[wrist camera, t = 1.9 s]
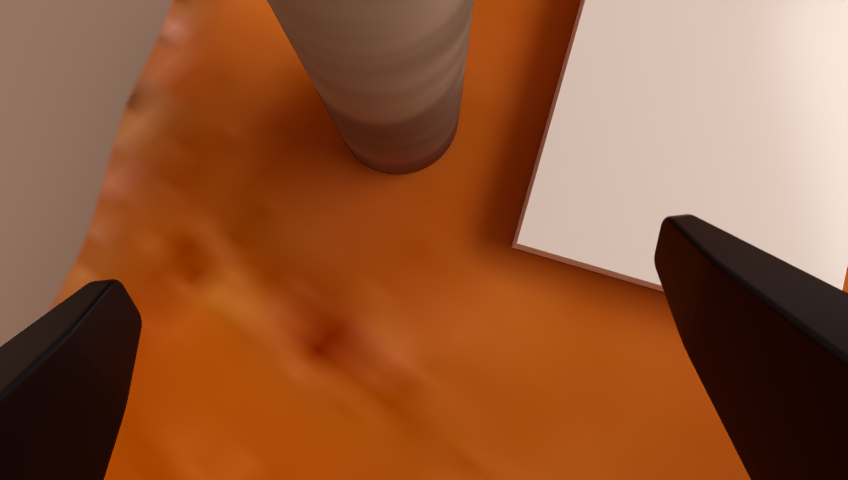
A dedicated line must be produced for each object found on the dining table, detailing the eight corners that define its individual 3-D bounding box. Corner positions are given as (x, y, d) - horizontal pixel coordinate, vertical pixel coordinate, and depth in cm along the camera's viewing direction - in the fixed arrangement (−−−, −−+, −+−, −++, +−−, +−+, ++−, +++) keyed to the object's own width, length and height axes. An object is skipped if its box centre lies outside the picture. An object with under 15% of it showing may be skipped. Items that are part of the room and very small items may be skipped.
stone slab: (804, 333, 22) (832, 335, 20) (511, 247, 22) (516, 243, 21) (884, -32, 23) (915, -55, 22) (609, -102, 24) (621, -129, 22)
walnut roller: (439, 188, 23) (446, 34, 10) (323, 155, 23) (180, -39, 10) (472, 76, 23) (521, -211, 10) (359, 45, 23) (268, -274, 10)
